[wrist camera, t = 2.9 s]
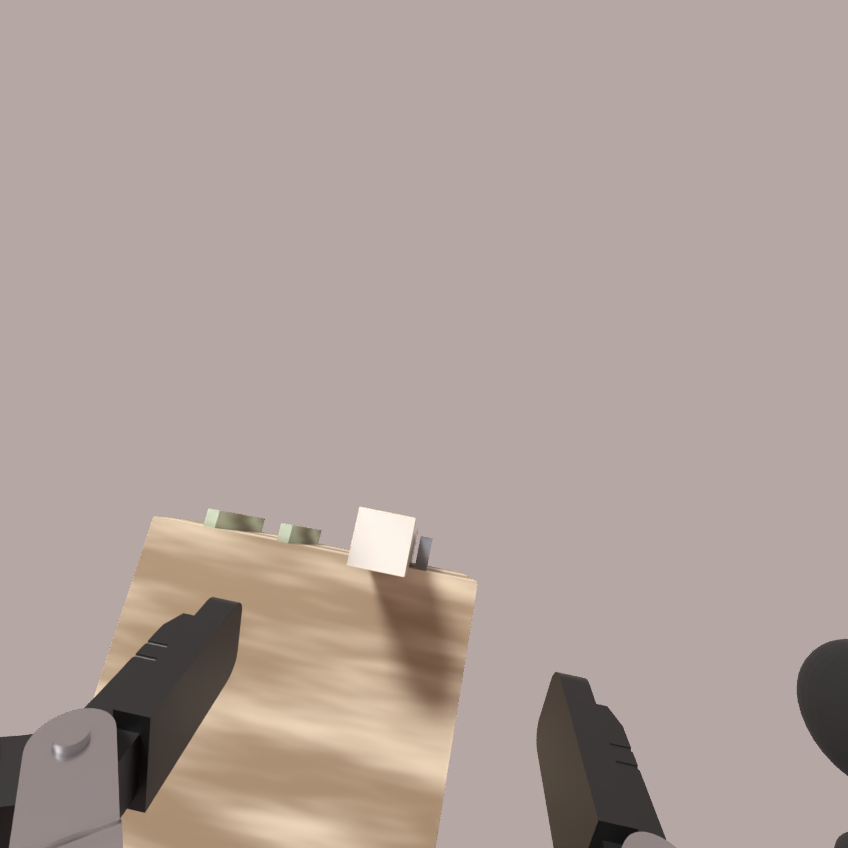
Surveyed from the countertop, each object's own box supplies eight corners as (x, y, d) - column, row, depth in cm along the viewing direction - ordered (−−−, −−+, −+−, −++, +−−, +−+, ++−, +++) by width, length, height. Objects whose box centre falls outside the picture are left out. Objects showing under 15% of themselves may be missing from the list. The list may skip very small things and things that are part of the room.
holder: (98, 952, 36) (231, 500, 44) (386, 1022, 35) (466, 547, 44) (-55, 1146, 24) (164, 483, 33) (369, 1258, 24) (483, 548, 32)
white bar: (383, 555, 46) (389, 526, 47) (412, 561, 46) (417, 531, 47) (346, 565, 23) (359, 506, 24) (404, 577, 23) (416, 517, 23)
